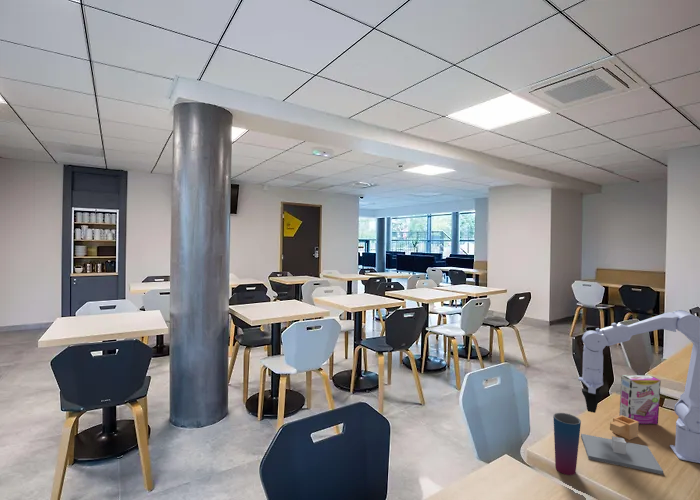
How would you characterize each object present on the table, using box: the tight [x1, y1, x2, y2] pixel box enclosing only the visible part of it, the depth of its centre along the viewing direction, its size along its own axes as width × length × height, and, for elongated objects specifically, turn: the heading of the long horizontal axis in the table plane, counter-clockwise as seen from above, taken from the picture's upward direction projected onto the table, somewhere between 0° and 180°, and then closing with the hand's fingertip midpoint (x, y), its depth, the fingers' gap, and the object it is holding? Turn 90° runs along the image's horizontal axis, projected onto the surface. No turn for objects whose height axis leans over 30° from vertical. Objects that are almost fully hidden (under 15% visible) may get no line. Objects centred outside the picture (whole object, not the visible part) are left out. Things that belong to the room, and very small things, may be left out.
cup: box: [553, 412, 582, 476], centre depth 107 cm, size 7×7×15 cm
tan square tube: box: [609, 415, 640, 441], centre depth 127 cm, size 9×5×5 cm, turn 116°
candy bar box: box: [618, 374, 662, 425], centre depth 136 cm, size 11×5×16 cm, turn 92°
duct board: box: [580, 433, 664, 475], centre depth 116 cm, size 18×14×4 cm
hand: (591, 407), depth 126 cm, fingers open, 7 cm apart
